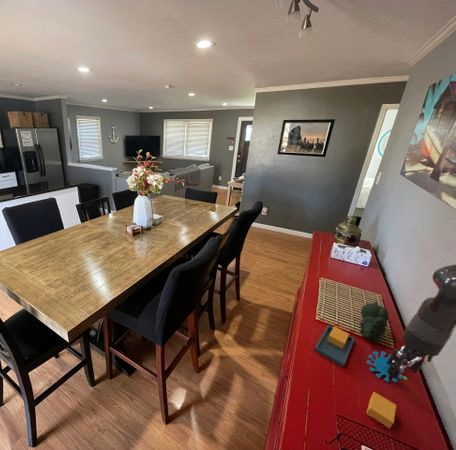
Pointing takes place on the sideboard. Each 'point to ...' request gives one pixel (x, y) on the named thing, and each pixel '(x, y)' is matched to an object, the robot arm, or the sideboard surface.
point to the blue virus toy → (383, 366)
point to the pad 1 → (338, 337)
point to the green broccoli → (373, 321)
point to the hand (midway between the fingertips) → (401, 372)
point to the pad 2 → (381, 410)
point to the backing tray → (333, 348)
